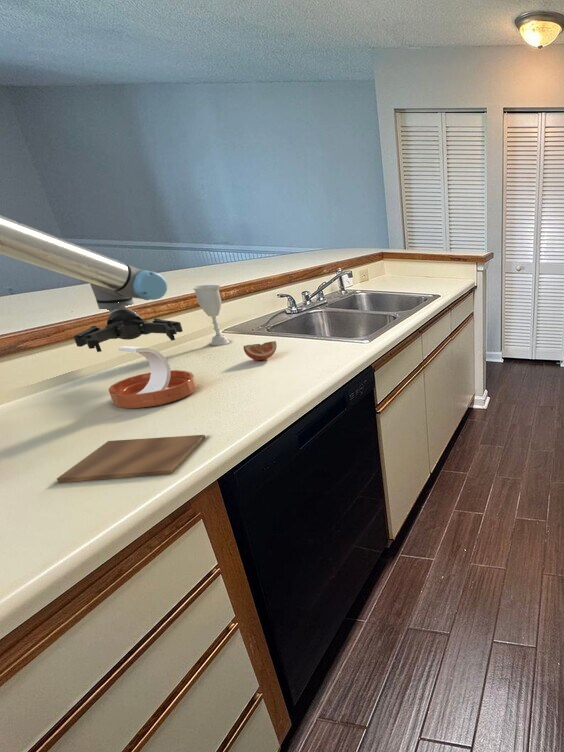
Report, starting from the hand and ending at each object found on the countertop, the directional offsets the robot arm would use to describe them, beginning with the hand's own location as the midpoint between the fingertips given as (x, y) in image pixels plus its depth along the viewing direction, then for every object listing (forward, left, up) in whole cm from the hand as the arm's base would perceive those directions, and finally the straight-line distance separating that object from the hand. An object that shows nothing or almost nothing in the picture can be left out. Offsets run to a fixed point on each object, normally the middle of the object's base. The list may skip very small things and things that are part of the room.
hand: (136, 340), depth 100 cm
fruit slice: (+20, +16, -11) cm, 29 cm away
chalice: (+1, +35, -11) cm, 37 cm away
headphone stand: (+5, -8, -11) cm, 14 cm away
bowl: (+5, -8, -11) cm, 15 cm away
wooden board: (+17, -37, -11) cm, 42 cm away
